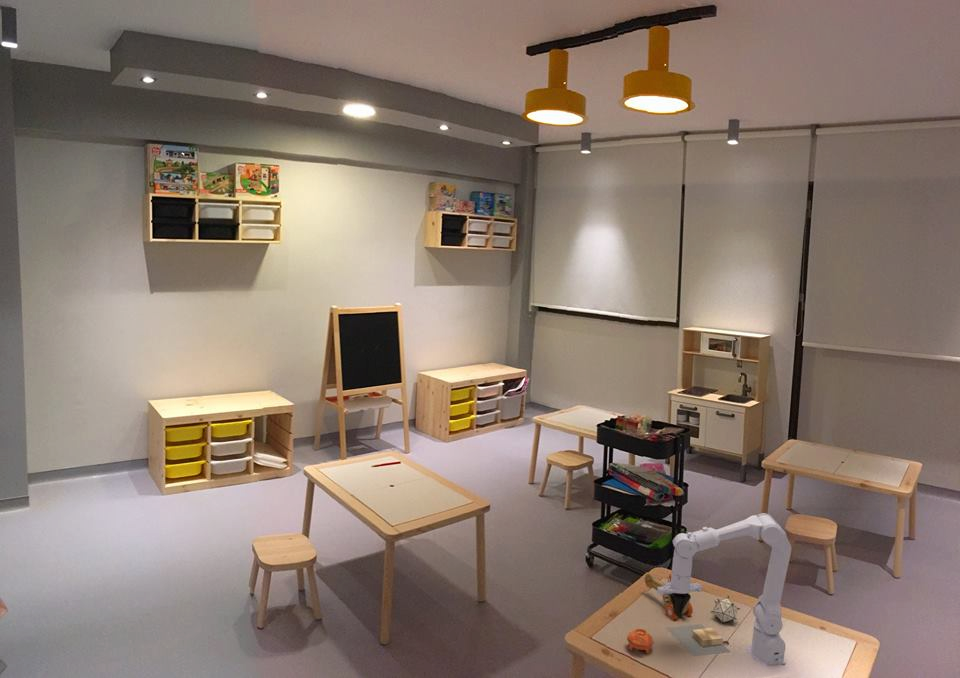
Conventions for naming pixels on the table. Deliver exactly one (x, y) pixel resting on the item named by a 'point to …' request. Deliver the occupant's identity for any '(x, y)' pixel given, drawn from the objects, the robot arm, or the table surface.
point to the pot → (640, 640)
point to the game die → (725, 610)
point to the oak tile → (707, 637)
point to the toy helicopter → (666, 597)
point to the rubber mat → (695, 641)
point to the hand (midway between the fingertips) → (677, 614)
